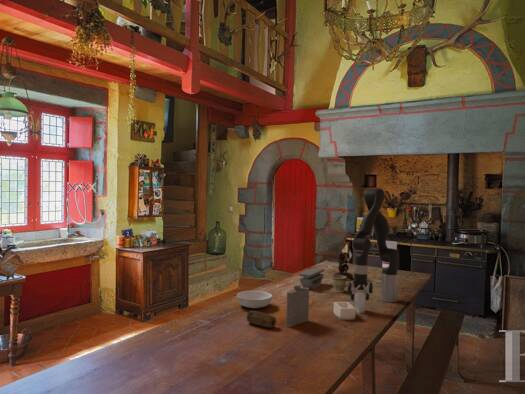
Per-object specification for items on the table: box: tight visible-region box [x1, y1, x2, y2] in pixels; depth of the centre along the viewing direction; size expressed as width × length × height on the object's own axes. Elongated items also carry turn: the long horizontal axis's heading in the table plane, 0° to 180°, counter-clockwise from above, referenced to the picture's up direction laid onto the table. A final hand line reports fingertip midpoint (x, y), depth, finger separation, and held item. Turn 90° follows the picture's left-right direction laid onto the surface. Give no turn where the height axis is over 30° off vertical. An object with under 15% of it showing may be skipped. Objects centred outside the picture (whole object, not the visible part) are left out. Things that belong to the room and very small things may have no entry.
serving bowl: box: [236, 290, 273, 309], centre depth 234 cm, size 21×21×7 cm
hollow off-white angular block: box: [332, 301, 357, 321], centre depth 221 cm, size 8×12×6 cm
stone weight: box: [246, 310, 277, 329], centre depth 202 cm, size 15×7×7 cm, turn 63°
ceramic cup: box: [331, 274, 352, 293], centre depth 272 cm, size 13×10×10 cm
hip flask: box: [285, 284, 310, 328], centre depth 207 cm, size 16×4×20 cm, turn 134°
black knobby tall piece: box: [333, 251, 354, 279], centre depth 312 cm, size 15×15×20 cm
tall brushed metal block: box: [353, 291, 366, 314], centre depth 230 cm, size 4×7×10 cm, turn 8°
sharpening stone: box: [298, 267, 325, 290], centre depth 284 cm, size 25×8×11 cm, turn 149°
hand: (359, 300), depth 230 cm, fingers open, 8 cm apart
